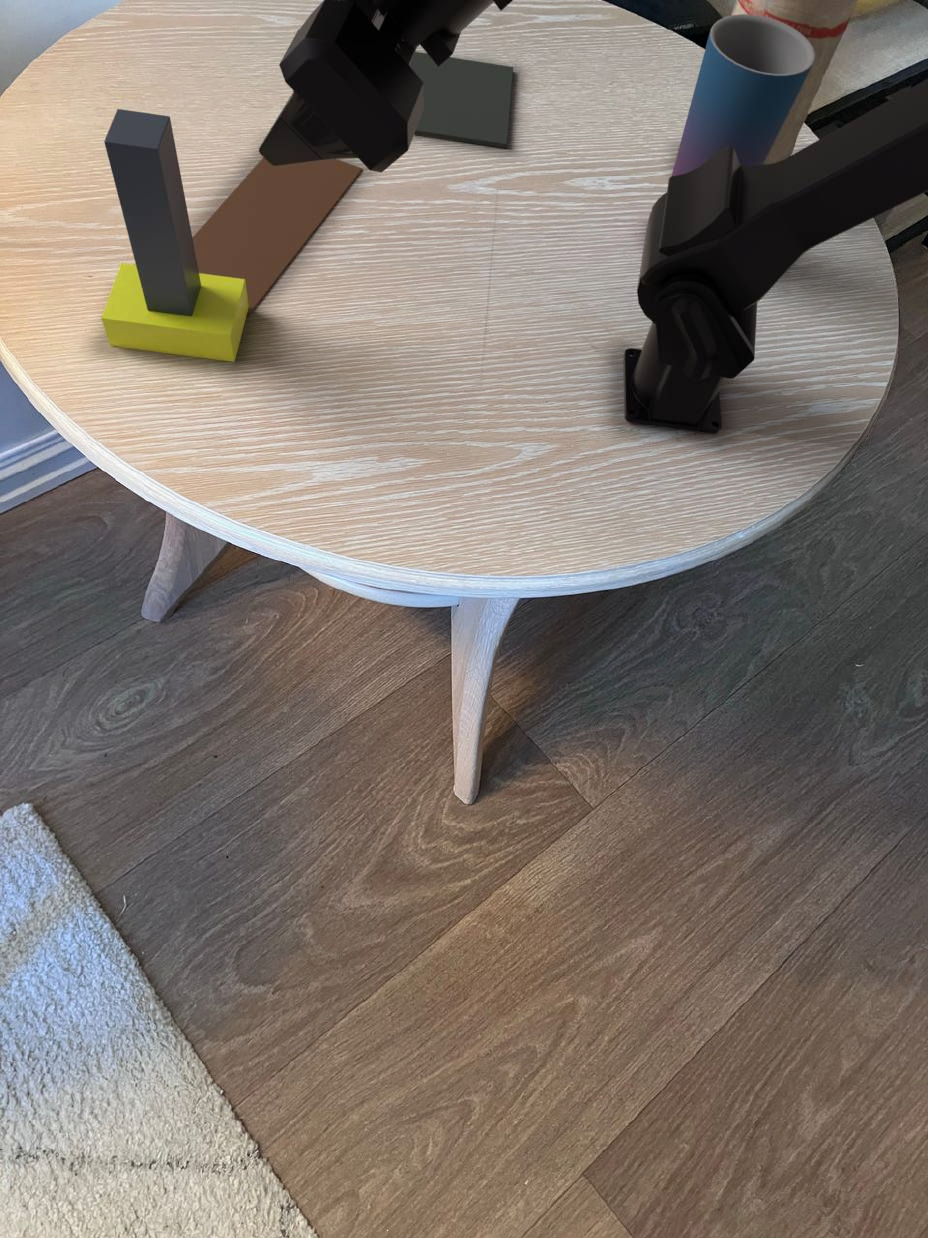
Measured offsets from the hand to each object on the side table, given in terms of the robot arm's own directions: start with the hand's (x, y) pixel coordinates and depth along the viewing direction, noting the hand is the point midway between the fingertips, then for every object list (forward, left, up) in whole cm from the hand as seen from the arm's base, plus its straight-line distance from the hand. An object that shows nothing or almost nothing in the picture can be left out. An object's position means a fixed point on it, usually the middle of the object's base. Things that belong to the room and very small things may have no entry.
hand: (291, 107), depth 51 cm
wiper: (-3, +7, -14) cm, 16 cm away
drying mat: (+27, -8, -14) cm, 31 cm away
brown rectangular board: (+8, +4, -14) cm, 17 cm away
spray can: (+23, -32, -14) cm, 42 cm away
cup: (+13, -28, -14) cm, 34 cm away
